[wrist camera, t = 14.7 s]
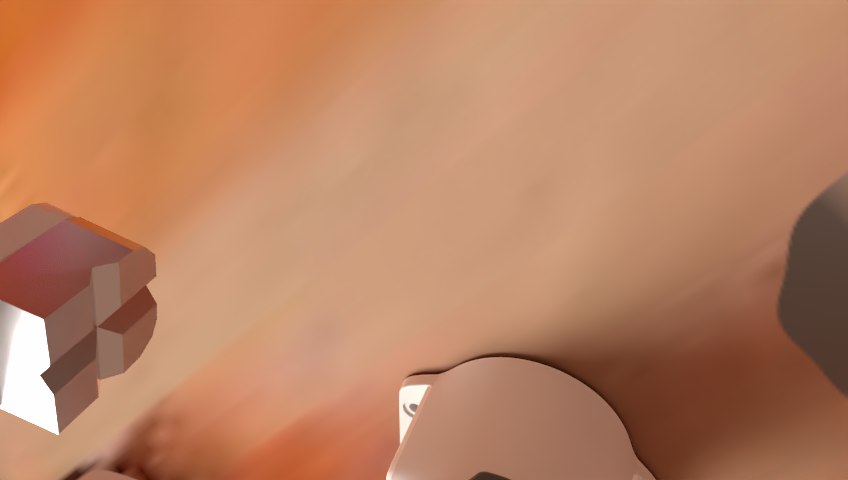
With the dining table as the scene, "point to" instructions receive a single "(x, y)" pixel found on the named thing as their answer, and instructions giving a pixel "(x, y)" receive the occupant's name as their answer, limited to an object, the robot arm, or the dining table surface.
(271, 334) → the dining table surface
